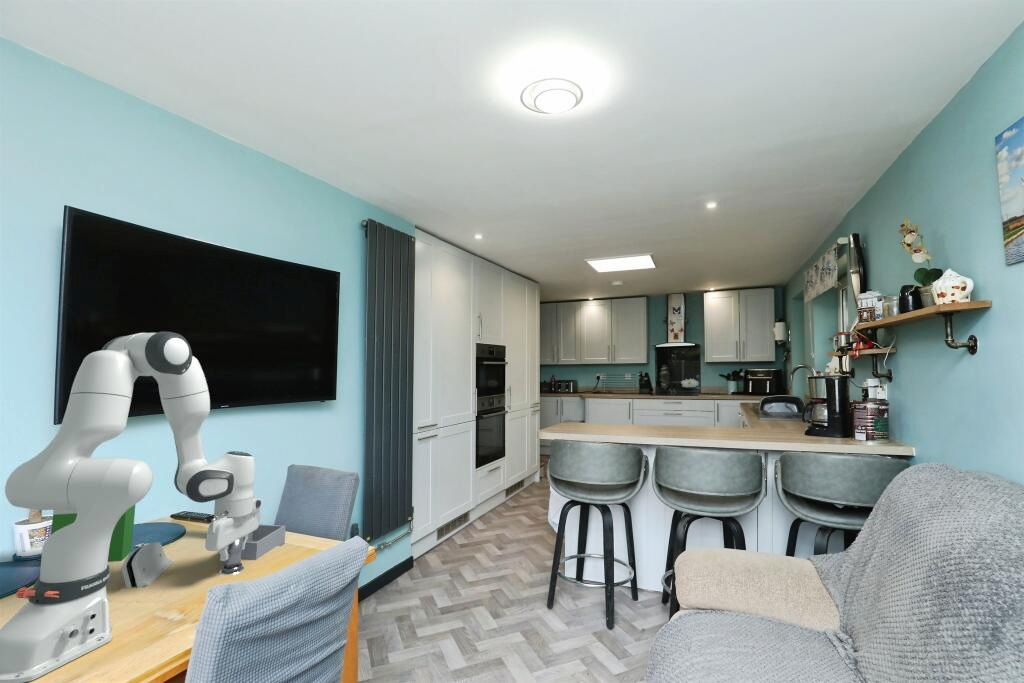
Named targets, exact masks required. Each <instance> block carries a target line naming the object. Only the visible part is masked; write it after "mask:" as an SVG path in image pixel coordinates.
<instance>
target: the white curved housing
mask: <svg viewBox="0 0 1024 683" xmlns="http://www.w3.org/2000/svg"><path fill="white" fill-rule="evenodd" d="M173 563H174V562H173V560H172V559H169V558H167V555H166V553H165V550H164V547H163V545H162V543H161V542H160V541H159V542H158V541H157V542H151V543H147V544H145V545H141V546H139V547H138V548H136V549H134V550H132V551H131V553H130V554H129V555H128V556H126V557H125V558H124V561H123V563H122V565H121V572H122V575H123V579H124V584H125V588H126V589H128V588H129V589H131V588H134V587H135V588H143V587H149V586H150V585H151V584H152V583H153V582H154V581H155V580H156V579H157V578H159V577H160V576H161V574H163V573H164V572H165V571H166V570H167V569H168V568H169V567H170V566H171V565H172V564H173Z"/></svg>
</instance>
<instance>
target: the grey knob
mask: <svg viewBox="0 0 1024 683" xmlns="http://www.w3.org/2000/svg"><path fill="white" fill-rule="evenodd" d="M242 540H243V537H242V538H240V539H238V540H236V541H235V542H233V543H231V544H229V545H228V549H227V552H228V553H230V555H229V559H228V560H226V561H223V565H222V566H221V569H222V570H221V569H220V570H221V572H222V573H224V574H232V573H236V572H239V571H241V570H242V566H243V563H242V559H241V554H242ZM241 572H242V571H241ZM239 573H240V572H239ZM236 574H237V573H236ZM232 575H233V574H232Z"/></svg>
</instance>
